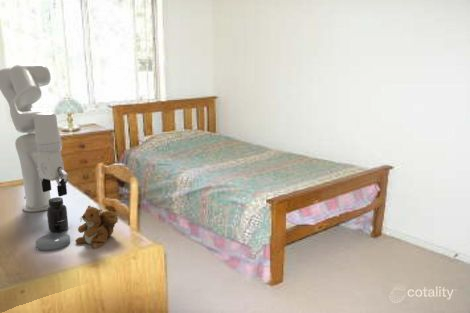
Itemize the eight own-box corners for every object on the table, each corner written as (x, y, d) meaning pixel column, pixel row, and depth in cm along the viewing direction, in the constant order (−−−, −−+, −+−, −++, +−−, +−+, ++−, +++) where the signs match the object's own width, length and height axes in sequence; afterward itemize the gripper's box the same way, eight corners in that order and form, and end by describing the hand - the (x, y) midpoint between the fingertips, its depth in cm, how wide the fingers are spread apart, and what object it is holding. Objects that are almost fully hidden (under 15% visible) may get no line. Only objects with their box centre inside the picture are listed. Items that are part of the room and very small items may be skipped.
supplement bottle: (61, 234, 156) (58, 203, 153) (45, 232, 157) (41, 202, 154) (72, 226, 162) (68, 196, 159) (56, 225, 164) (52, 195, 161)
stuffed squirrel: (73, 244, 148) (68, 208, 145) (106, 229, 159) (103, 196, 156) (91, 251, 143) (87, 214, 139) (124, 236, 154) (121, 201, 150)
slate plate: (29, 245, 147) (29, 241, 147) (58, 234, 156) (58, 230, 156) (48, 254, 141) (47, 249, 141) (76, 241, 150) (76, 237, 149)
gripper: (25, 146, 153) (32, 192, 158) (53, 152, 144) (59, 200, 148) (44, 143, 159) (50, 186, 163) (72, 147, 150) (78, 194, 154)
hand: (54, 193), depth 156 cm, fingers open, 9 cm apart
